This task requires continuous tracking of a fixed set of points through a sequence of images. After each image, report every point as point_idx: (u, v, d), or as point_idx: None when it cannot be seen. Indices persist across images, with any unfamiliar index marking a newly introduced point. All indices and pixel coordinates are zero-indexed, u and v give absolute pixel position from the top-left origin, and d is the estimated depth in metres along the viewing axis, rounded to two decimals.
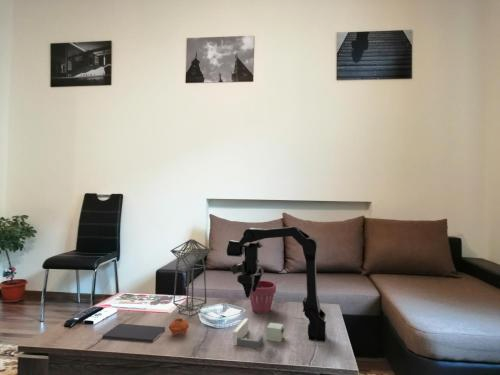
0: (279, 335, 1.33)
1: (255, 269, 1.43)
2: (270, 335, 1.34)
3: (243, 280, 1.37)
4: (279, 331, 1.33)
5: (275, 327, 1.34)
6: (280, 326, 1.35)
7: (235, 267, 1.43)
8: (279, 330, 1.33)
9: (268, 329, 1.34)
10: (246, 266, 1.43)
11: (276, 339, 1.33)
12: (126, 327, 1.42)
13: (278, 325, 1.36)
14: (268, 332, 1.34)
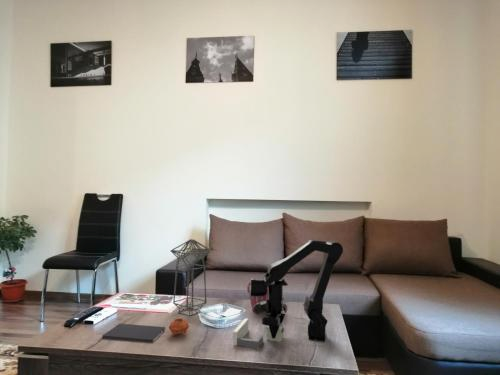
0: (279, 335, 1.33)
1: (280, 309, 1.34)
2: (270, 335, 1.34)
3: (268, 323, 1.27)
4: (279, 331, 1.33)
5: None
6: (280, 326, 1.35)
7: (259, 307, 1.34)
8: (279, 330, 1.33)
9: (268, 329, 1.34)
10: (270, 306, 1.34)
11: (276, 339, 1.33)
12: (126, 327, 1.42)
13: None
14: (268, 332, 1.34)
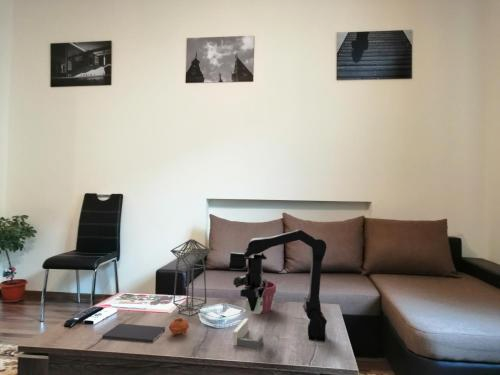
0: (258, 307, 1.34)
1: (259, 282, 1.36)
2: (249, 308, 1.36)
3: (246, 294, 1.29)
4: (258, 303, 1.34)
5: None
6: (259, 299, 1.37)
7: (238, 280, 1.35)
8: (258, 302, 1.35)
9: (247, 302, 1.36)
10: (250, 279, 1.36)
11: (255, 311, 1.35)
12: (126, 327, 1.42)
13: None
14: (247, 305, 1.36)
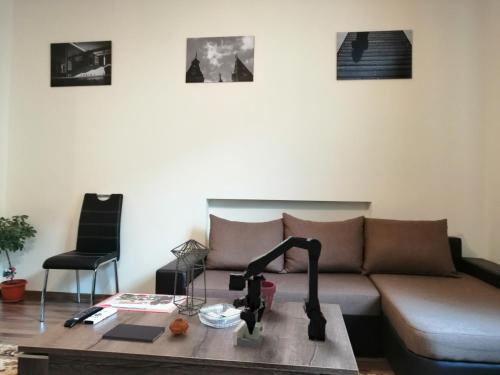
0: (257, 333, 1.34)
1: (259, 304, 1.35)
2: (248, 333, 1.35)
3: (246, 317, 1.29)
4: (257, 329, 1.34)
5: None
6: (259, 324, 1.37)
7: (237, 302, 1.35)
8: (257, 328, 1.34)
9: None
10: (249, 300, 1.36)
11: (254, 337, 1.35)
12: (126, 327, 1.42)
13: (257, 323, 1.38)
14: (247, 330, 1.36)
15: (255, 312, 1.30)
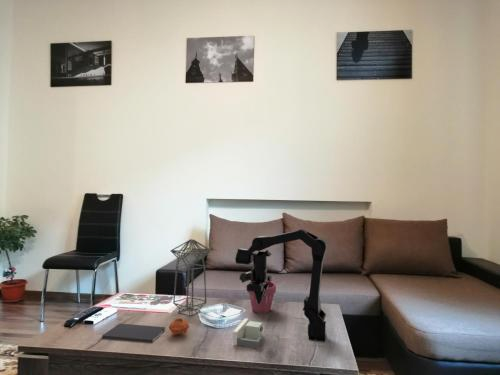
0: (257, 333, 1.34)
1: (264, 277, 1.43)
2: (248, 333, 1.35)
3: (252, 289, 1.36)
4: (257, 329, 1.34)
5: (254, 325, 1.36)
6: (259, 324, 1.37)
7: (244, 275, 1.43)
8: (257, 328, 1.34)
9: (247, 327, 1.36)
10: (255, 274, 1.43)
11: (254, 337, 1.35)
12: (126, 327, 1.42)
13: (257, 323, 1.38)
14: (247, 330, 1.36)
15: (261, 284, 1.38)
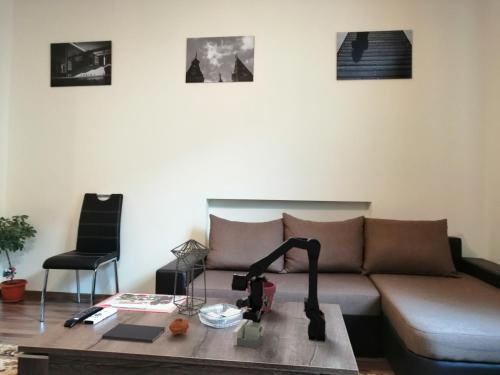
0: (257, 334, 1.33)
1: (261, 304, 1.39)
2: (247, 334, 1.35)
3: (248, 317, 1.32)
4: (257, 330, 1.34)
5: (253, 326, 1.35)
6: (258, 325, 1.36)
7: (240, 302, 1.39)
8: (257, 329, 1.34)
9: (246, 328, 1.35)
10: (252, 301, 1.39)
11: (254, 338, 1.34)
12: (126, 327, 1.42)
13: (256, 324, 1.37)
14: (246, 331, 1.35)
15: (257, 312, 1.34)
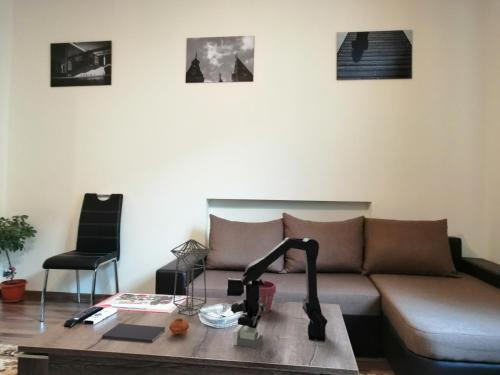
0: (252, 339, 1.28)
1: (257, 309, 1.34)
2: None
3: (244, 323, 1.27)
4: (252, 335, 1.28)
5: (248, 331, 1.30)
6: (254, 330, 1.31)
7: (235, 307, 1.33)
8: (252, 334, 1.28)
9: (241, 333, 1.30)
10: (247, 306, 1.34)
11: None
12: (126, 327, 1.42)
13: (252, 329, 1.32)
14: (241, 336, 1.29)
15: (253, 318, 1.28)
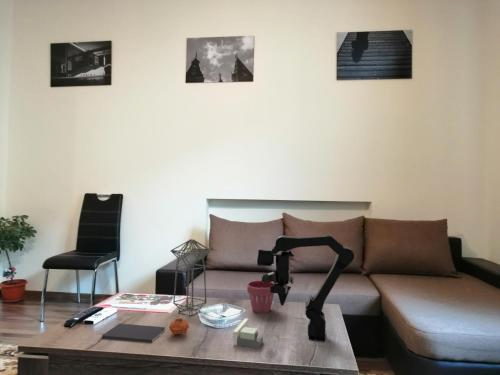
0: None
1: (287, 279, 1.37)
2: None
3: (276, 291, 1.31)
4: (252, 336, 1.28)
5: (248, 331, 1.30)
6: (254, 330, 1.31)
7: (266, 277, 1.37)
8: (252, 335, 1.28)
9: (241, 334, 1.30)
10: (278, 276, 1.37)
11: None
12: (126, 327, 1.42)
13: (252, 329, 1.32)
14: (241, 337, 1.29)
15: (285, 286, 1.32)
